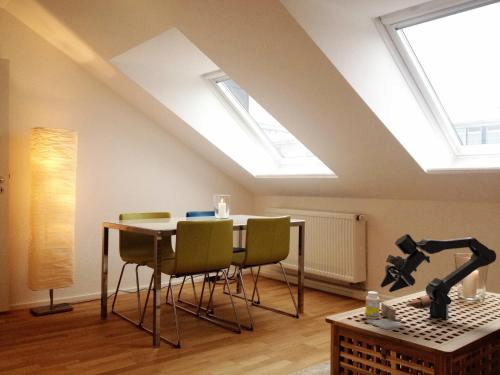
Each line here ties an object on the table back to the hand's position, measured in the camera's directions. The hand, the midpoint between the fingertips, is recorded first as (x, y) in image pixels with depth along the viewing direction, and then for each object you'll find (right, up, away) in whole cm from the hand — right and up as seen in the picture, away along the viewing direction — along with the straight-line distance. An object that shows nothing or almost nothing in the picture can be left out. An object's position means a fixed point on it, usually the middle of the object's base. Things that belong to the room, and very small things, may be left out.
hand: (385, 289), depth 200 cm
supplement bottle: (-5, -12, -1) cm, 13 cm away
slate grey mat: (-3, -11, -11) cm, 16 cm away
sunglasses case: (+25, -13, +26) cm, 38 cm away
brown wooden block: (+2, -12, 0) cm, 12 cm away
